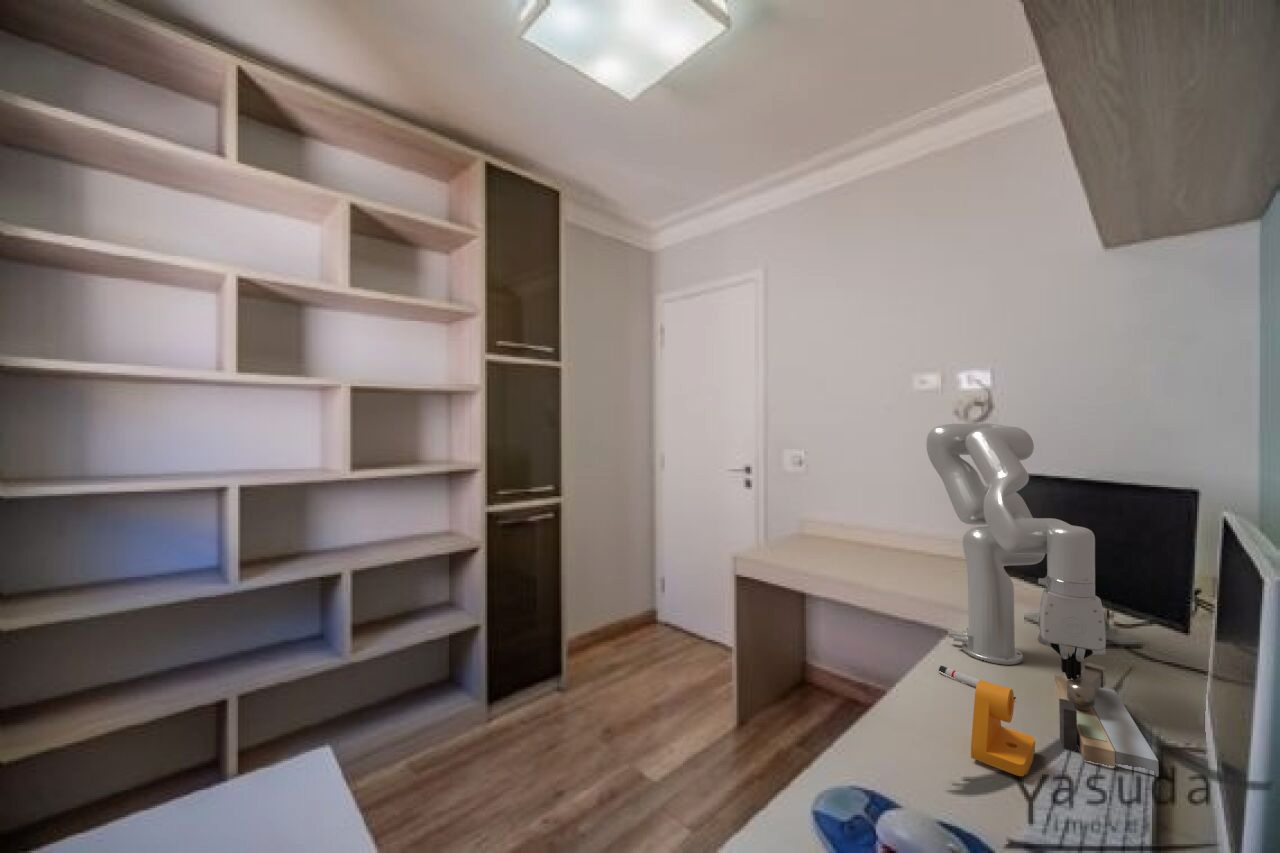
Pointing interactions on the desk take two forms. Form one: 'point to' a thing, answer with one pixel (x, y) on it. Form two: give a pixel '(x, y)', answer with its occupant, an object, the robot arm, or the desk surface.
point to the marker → (960, 676)
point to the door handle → (1086, 685)
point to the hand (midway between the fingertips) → (1071, 677)
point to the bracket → (999, 731)
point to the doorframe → (1102, 730)
